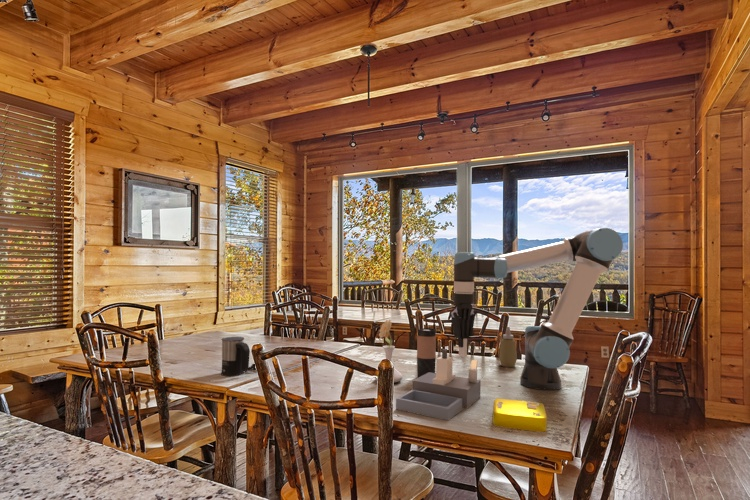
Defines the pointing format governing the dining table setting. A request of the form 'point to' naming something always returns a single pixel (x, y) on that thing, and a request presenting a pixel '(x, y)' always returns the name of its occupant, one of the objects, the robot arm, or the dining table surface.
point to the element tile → (519, 415)
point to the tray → (429, 404)
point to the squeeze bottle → (508, 350)
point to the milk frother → (235, 356)
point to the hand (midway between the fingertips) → (462, 355)
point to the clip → (473, 372)
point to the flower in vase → (389, 347)
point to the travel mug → (426, 351)
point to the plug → (444, 369)
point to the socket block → (450, 388)
